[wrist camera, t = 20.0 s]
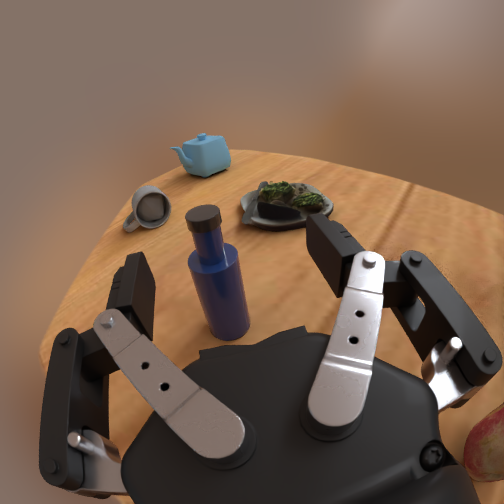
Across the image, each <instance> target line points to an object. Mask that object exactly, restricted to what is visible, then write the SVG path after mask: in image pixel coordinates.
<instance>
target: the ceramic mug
mask: <svg viewBox="0 0 504 504" xmlns="http://www.w3.org/2000/svg"><path fill="white" fill-rule="evenodd" d="M132 208H133V212H131V214H130V215H129V216H128V217H127V218H126V220H125V221H124V224H123V228H124V229H125V230H126V231H127V232H132V231H134V230H135V229H136V228H138V227H139V226H140V225H141V226H143V227H145V228H157V227H159V226H161V225H163V224H164V223H165V222H166V221H167V220H168V218H169V216H170V213H171V204H170V200H169V198H168V197H167V196H166V195H165V194H164V193H163V192H162V191H161V190H160V189H158V188H157V187H155V186H150V185H147V186H143V187H141V188H139V189H138V190H137V191H136V192H135V193H134V195H133V198H132ZM134 219H135V220H134ZM133 220H134V221H133ZM132 221H133V222H132ZM131 222H132V223H131ZM130 223H131V224H130Z"/></svg>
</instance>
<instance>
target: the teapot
mask: <svg viewBox="0 0 504 504" xmlns="http://www.w3.org/2000/svg"><path fill="white" fill-rule="evenodd" d="M171 149H174V150H175V151H176V152H177V153H178V156H179V159H180V161H181V163H182V164H183V166H184V169H185V170H186V171H187V172H188V173H190V174H193V175H199V176H202V177H208V176H210V175H211V174H214V173H216V172H219V171H223V170H225V169H226V168H228V167H230V163H231V158H230V153H229V150H228V148H227V145H226V143H225V139H224V138H223V137H222V136H206V134H205V133H203V134H199V135H197V138H196V139H192V140H189V141H187V142H184V143H183V147H182V149H181V148H180V147H171Z"/></svg>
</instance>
